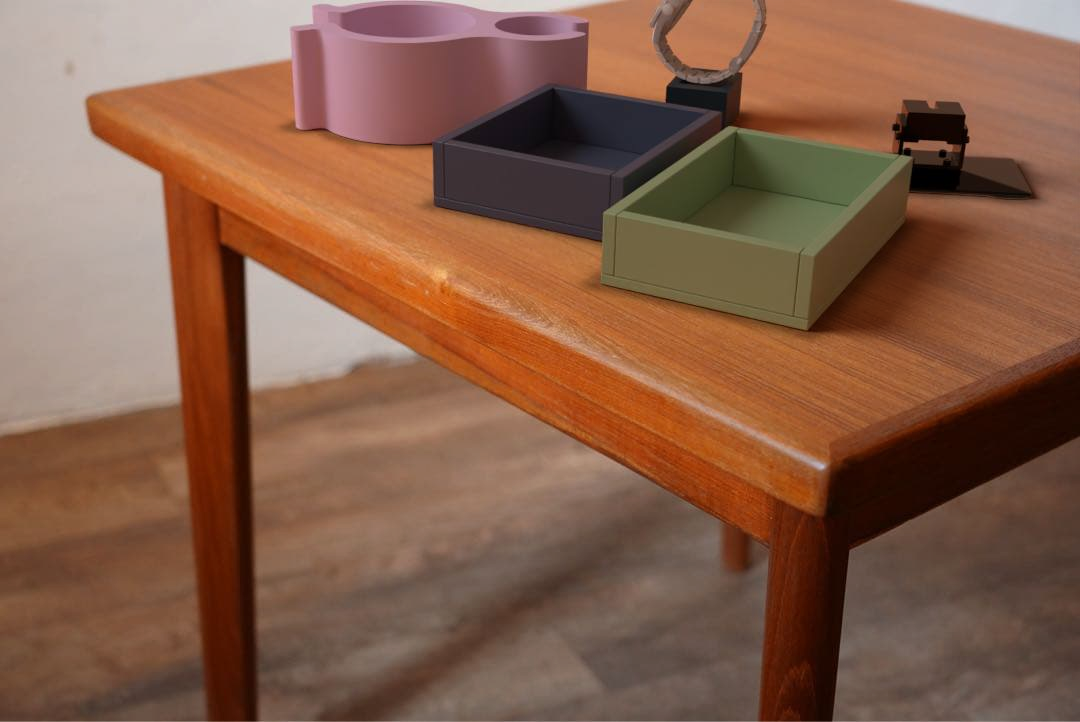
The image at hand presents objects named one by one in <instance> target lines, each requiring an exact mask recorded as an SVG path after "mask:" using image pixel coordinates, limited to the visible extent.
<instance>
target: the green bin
mask: <svg viewBox="0 0 1080 722" xmlns="http://www.w3.org/2000/svg"><path fill="white" fill-rule="evenodd" d="M886 152H887V151H882V152H880V151H879V150H875V149H874V150H873V149H868V148H861V147H857V146H856V147H855V146H851V145H850V146H849V145H844V144H838V143H834V142H833V143H832V142H826V141H820V140H813V139H809V138H803V137H797V136H790V135H785V134H779V133H773V132H769V131H768V132H767V131H761V130H756V129H750V128H743V127H737V126H733V125H732V126H728V127H727V128H725V129H724V130H722V131H721V132H719V133H718V134H717V135H715V136H714V137H712V138H711V139H709V140H708V141H706V142H705V143H704V144H702V145H701V146H699V147H698V148H696V149H695V150H693V151H692V152H690V153H689V154H688V155H686V156H685V157H683V158H682V159H680V160H679V161H677V162H676V163H675V164H673V165H672V166H670V167H669V168H667V169H666V170H664V171H663V172H661V173H660V174H659V175H657V176H656V177H654V178H653V179H651V180H650V181H648V182H647V183H645V184H644V185H643V186H641V187H640V188H638V189H637V190H635V191H634V192H632V193H631V194H630V195H628V196H627V197H625V198H624V199H622V200H621V201H619V202H618V203H616V204H615V205H614V206H612V207H611V208H609V209H608V210H606V211H605V212H604V213H603V238H602V241H601V264H600V265H601V266H600V267H601V269H600V273H601V274H600V284H601V285H605V286H608V287H612V288H613V287H614V288H619V289H622V290H627V291H632V292H635V293H640V294H644V295H648V296H654V297H658V298H663V299H666V300H671V301H675V302H679V303H684V304H689V305H692V306H696V307H701V308H706V309H710V310H714V311H719V312H723V313H727V314H732V315H737V316H740V317H745V318H749V319H754V320H758V321H762V322H766V323H772V324H775V325H780V326H783V327H784V326H785V327H789V328H792V329H793V328H794V329H797V330H801V331H808V330H809V329H811V327H812V326H813V325H814V324H815V323H816V322H817V320H818V319H819V318H820V317H821V316H822V315H823V314H824V313H825V312H826V311H827V309H828V308H829V307H830V306H831V305H832V304H833V302H835V301H836V300H837V298H838V297H839V296H840V295H841V294H842V293H843V291H845V290H846V288H847V287H848V286H849V285H850V284H851V283H852V281H854V279H855V278H856V277H858V275H859V274H860V272H862V270H863V269H864V268H865V267H866V266H867V265H868V264H869V262H870V261H871V260H872V259H873V258H874V257H875V256H876V255H877V254H878V252H879V251H880V250H881V249H882V248H883V247H884V246H885V245H886V243H887V242H888V241H889V240H890V239H891V238H892V237H893V236H894V235H895V233H896V232H897V231H898V230H899V229H900V228H901V227H902V226H903V224H904V223H905V222H906V212H907V207H908V199H909V193H910V192H909V186H910V179H911V172H912V164H913V157H909V156H903V155H897V154H891V153H886Z"/></svg>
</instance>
